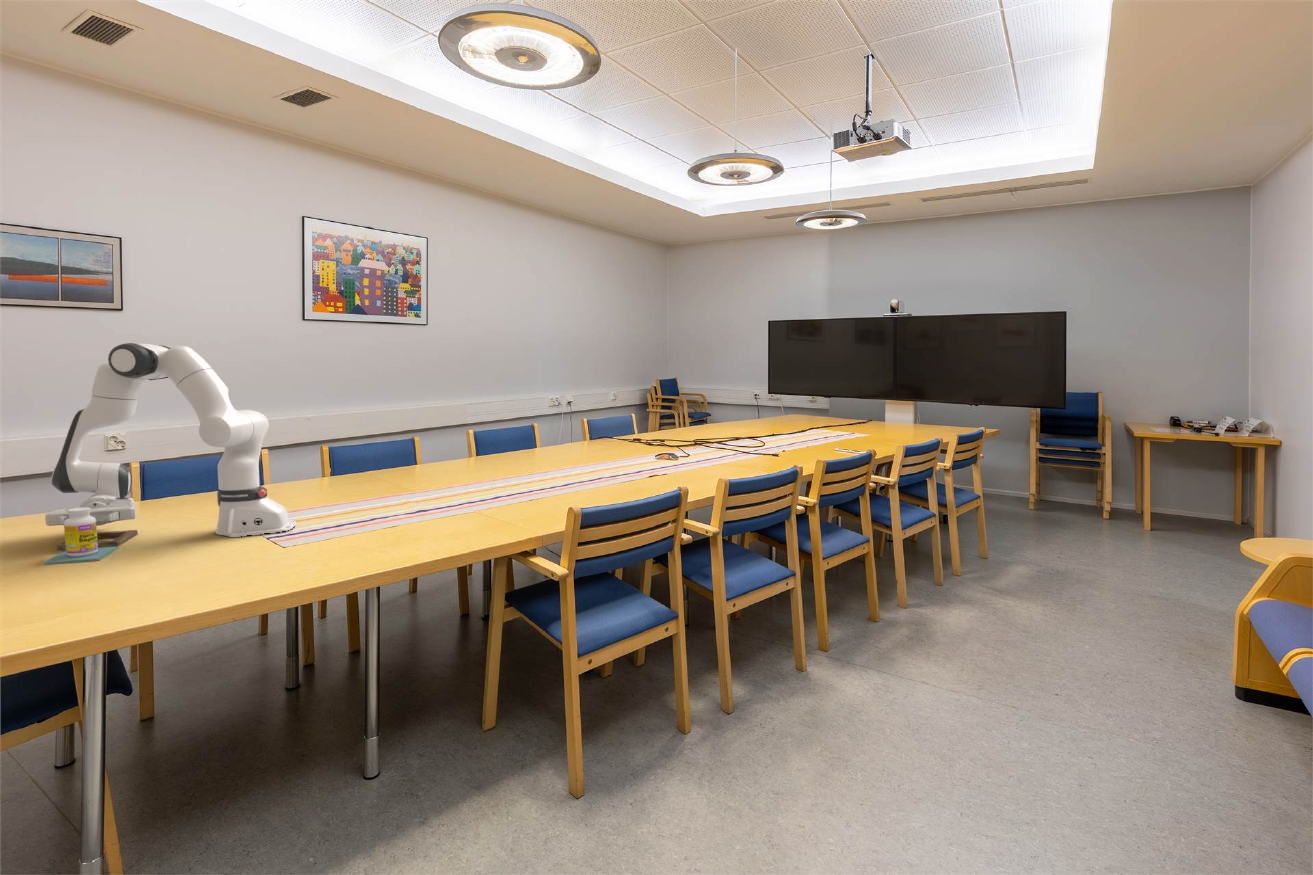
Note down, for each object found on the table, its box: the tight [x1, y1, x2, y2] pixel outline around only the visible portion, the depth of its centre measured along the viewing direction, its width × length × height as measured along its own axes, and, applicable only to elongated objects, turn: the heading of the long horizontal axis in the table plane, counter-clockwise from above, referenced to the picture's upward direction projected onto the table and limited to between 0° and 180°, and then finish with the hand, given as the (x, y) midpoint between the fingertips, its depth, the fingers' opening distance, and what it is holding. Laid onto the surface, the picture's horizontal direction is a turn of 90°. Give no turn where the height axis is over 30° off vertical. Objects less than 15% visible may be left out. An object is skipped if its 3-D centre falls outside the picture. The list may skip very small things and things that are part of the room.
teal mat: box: [42, 546, 120, 565], centre depth 178 cm, size 12×12×1 cm
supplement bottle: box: [63, 506, 99, 557], centre depth 177 cm, size 7×7×13 cm
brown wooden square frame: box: [56, 529, 139, 552], centre depth 191 cm, size 14×14×2 cm
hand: (86, 520), depth 182 cm, fingers open, 8 cm apart
